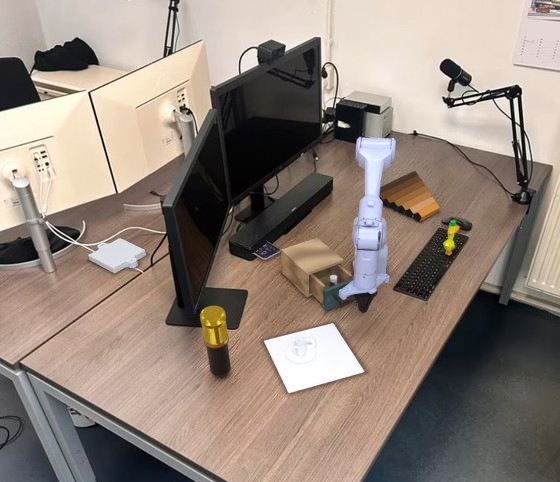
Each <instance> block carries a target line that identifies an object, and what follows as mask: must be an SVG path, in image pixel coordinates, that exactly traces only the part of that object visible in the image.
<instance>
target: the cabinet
mask: <svg viewBox="0 0 560 482" xmlns="http://www.w3.org/2000/svg"><path fill="white" fill-rule="evenodd" d="M280 250H281V252H280V255H281V273H282V274H283V275H284V276H285V278H287V280H288V281H289V282H290V283H292V285H294V286H295V287H296V288H297V290H299V292H301V293H302V294H303V295H304V296H305V297H306V298H309V297H312V296H313V295H312V294H311V293H310V292H309V275H310V274H312V273H315V272H318V271H321V270H323V269H326V268H329V267H332V266H334V265H337V264H340V265H341V266H342V267H343V268H344V260H345V259H344V258H342V257H341V256H340V255H338V254H337V253H336V252H335V251H334V250H333V249H331V248H330V247H329V246H328V245H327V244H325V243H324V242H323V241H322V240H321V239H319V238H318V237H313V238H312V239H308V240H305V241H302V242H299V243H297V244H293V245H291V246H287V247H285V248H280Z"/></svg>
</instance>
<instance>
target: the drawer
mask: <svg viewBox="0 0 560 482" xmlns="http://www.w3.org/2000/svg"><path fill="white" fill-rule="evenodd" d="M331 275H336V276H337V285H334V286H331V287H330V276H331ZM353 280H354V274H352V273H351V272H350V271H349V270H347V269H346V268H344V266H343V267H342V266H341V265H340V264H337V265H334V266H332V267H329V268H326V269H323V270H321V271H318V272H315V273H312V274H310V275H309V292H310V293H311V294H312V296H313V297H314V298H316V300H317V301H318V302H319V303H321V305H322V309H323V310H324V311H325V312H326V311H329V310H331V309H335V308H337V307H341V308H342V307H345V306H347V305H350V304H352V303H355V302H357V301H356V299H355V296H354V295H353V294H352V295H350V296H347V297H346V299H344V300H343V299H342V298H341V297H340V296H339V290H341V289H343V288H344V287H345V286H347V285H348V284H349V283H350V282H352V281H353Z"/></svg>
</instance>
